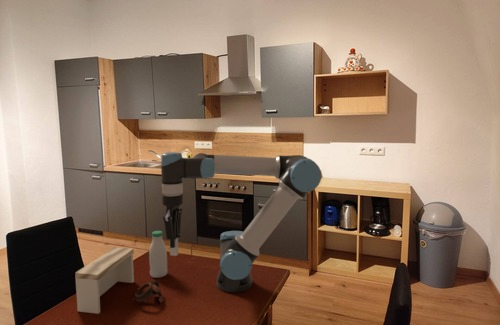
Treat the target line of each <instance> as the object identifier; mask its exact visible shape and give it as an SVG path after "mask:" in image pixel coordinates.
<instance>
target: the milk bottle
mask: <svg viewBox="0 0 500 325" xmlns="http://www.w3.org/2000/svg"><path fill="white" fill-rule="evenodd" d="M163 234H164V232H163V231H162V230H155V231H152V233H151V238H152V240H151V242H150V243H151V244H150V245H149V250H148V251H149V253H148V256H149V258H148V259H149V260H148V262H149V275H150V277H151V278H154V279H155V278H157V279H158V278H163V277H165V276H167V274H168V254H167V252H168V251H167V250H168V249H167V247H166V246H167V245H166V244H165V242H164V240H163Z"/></svg>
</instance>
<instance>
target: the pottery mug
mask: <svg viewBox="0 0 500 325" xmlns="http://www.w3.org/2000/svg"><path fill="white" fill-rule="evenodd" d="M146 288H147V290H145V289H146ZM144 290H145V292H143V293H141V292H142V291H144ZM140 293H141V294H140ZM155 295H158V302H159V304H163V301H164V297H163V295H162V292H161V290H160V282H158V281H157V280H153V281H151V282H146V283H144V284H142V285H140V287H139V288H137V291H136V292H135V294H134V297H136V298H135V299H136V302H138V303H142V302H145V303H147V297H148V298H149V297H150V298H151V297H152V298H153V297H154V296H155Z"/></svg>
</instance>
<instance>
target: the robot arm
mask: <svg viewBox="0 0 500 325" xmlns="http://www.w3.org/2000/svg"><path fill="white" fill-rule="evenodd" d="M182 155H183V154H182V153H181V152H178V151H177V152H175V151H173V152H171V151H169V152H164V153H162V155H161V161H160V162H161V165H160V170H161V188H162V189H161V193H162V197H161V198H162V203H161V204H162V205H163V206H165V207H166V210H165V215H164V216H162V218H163V221H164V229H165V236H166V237H165V238H166V240H169V256H178V255H179V238H181V225H182V212H183V208H180V206H181V205H183V203H184V195H183V193H184V190H183V189H184V186H183V179H205V180H206V179H212V178H214V177H215V174H225V175H247V176H264V177H266V176H267V177H275V179H277V180H278V186H277V188H276V189H275V191H274V192H273V193H272V195H271V196H270V197H269V198H268V200H267V201H266V202H265V204H264V205H263V206H262V207H261V208H260V210H259V211H258V212H257V213H256V215H255V217H254V218H253V219H252V220H251V222H250V223H249V224H248V226H247V227H246V228H245V229H244V231H241V230H230V231H224V232H222V233H221V234H220V238H219V241H220V244H219V245H220V254H219V256H220V257H219V258H220V259H219V260H220V261H219V267H220V269H219V271H218V274H217V278H216V287H217V289H219V290H220V291H222V292H227V293H243V292H245V291H248V290H249V289H251V287H253V277H252V275H251V271H252V268H253V264H254V262H255V261H256V260H257V258H258V257H259V256H260V248H261V247H262V245H264V243H265V242H266V240H267V239H268V238H269V237H270V235H271V234H272V233H273V231H274V230H275V229H276V228H277V226H278V225H279V224H280V222H281V221H282V220H283V219H284V218H285V216H286V215H287V213H288V212H289V211H290V209H291V208H292V207H293V206H294V205H295V203H296V202H297V201H298V200H303V199H304V198H305V196H306V195H307V194H308V193H309V192H312V191H314V190H315V189H317V188H318V186H319V184H320V183H321V181H322V170H321V169H320V166H319V165H318V164H317V163H316V162H315V161H314V160H313V159H311V158H309V157H307V156H304V155H299V154H298V155H297V154H295V155H294V154H293V155H276V157H269V156H267V157H265V156H264V157H263V156H247V155H246V156H245V155H228V154H227V155H226V154H225V155H224V154H223V155H222V154H209V153H208V154H207V153H203V152H200V153H196V154H195V155H194V156H193V157H183V156H182Z"/></svg>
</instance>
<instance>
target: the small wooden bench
mask: <svg viewBox="0 0 500 325" xmlns="http://www.w3.org/2000/svg"><path fill="white" fill-rule="evenodd" d="M134 252H135V251H134V248H131V247H130V248H129V247H118V246H116V247H113V248H110V249H109V250H108V251H107V252H105V253H103V254H102V255H100V256H99V257H97V258H96V259H94V260H93V261H92V262H90V263H88V264H87V265H85V266H83V267H82V268H80V269H78V270H77V271H76V272H74V273H75V274H74V275H75V278H74V279H75V290H76V292H75V293H76V306H77V307H76V308H77V312H80V313H91V314H97V315H98V314H100V313H101V299H100V297H101V296H102V295H103V294H105V293H106V292H107V291H108V290H110V288H112V287H114V285H115V284H117V283H119V282H120V283H129V284H130V283H131V284H133V283H134V282H135V278H134V276H135V273H134Z"/></svg>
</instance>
